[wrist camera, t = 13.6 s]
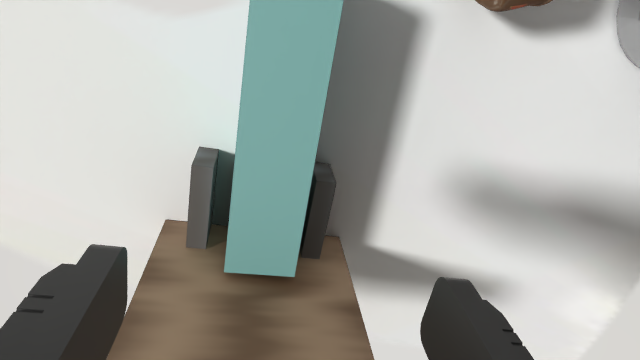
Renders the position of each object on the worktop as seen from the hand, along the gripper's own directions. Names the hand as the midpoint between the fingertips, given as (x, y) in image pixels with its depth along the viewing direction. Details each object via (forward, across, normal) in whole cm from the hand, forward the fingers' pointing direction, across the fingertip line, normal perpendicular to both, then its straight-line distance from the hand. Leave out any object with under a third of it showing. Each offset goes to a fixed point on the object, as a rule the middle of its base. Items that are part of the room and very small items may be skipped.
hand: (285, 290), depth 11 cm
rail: (+17, 0, 0) cm, 17 cm away
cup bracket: (+17, 0, +6) cm, 18 cm away
